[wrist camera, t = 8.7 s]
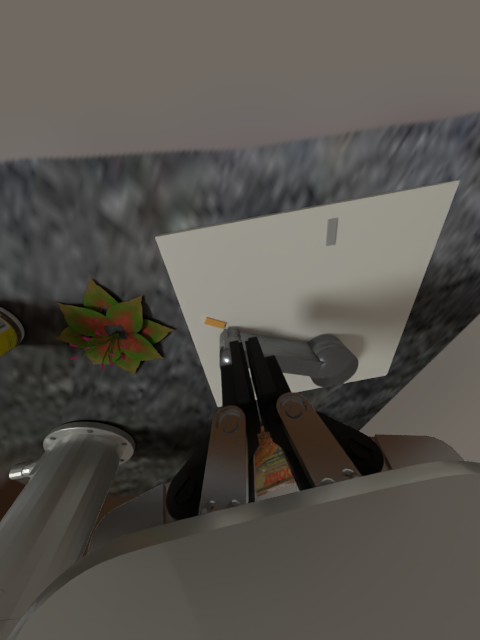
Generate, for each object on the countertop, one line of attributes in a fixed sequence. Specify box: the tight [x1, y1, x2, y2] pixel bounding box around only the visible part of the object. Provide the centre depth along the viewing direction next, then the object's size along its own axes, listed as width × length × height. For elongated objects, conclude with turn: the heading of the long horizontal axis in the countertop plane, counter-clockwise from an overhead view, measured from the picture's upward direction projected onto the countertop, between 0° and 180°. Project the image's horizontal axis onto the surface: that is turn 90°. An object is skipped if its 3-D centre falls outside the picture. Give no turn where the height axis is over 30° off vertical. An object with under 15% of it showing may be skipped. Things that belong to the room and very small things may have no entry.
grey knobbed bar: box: [219, 328, 359, 387], centre depth 19 cm, size 15×5×4 cm, turn 74°
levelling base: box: [155, 181, 460, 407], centre depth 20 cm, size 24×22×4 cm
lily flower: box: [55, 278, 174, 375], centre depth 19 cm, size 12×12×5 cm
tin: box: [254, 425, 295, 497], centre depth 30 cm, size 15×3×8 cm, turn 122°
